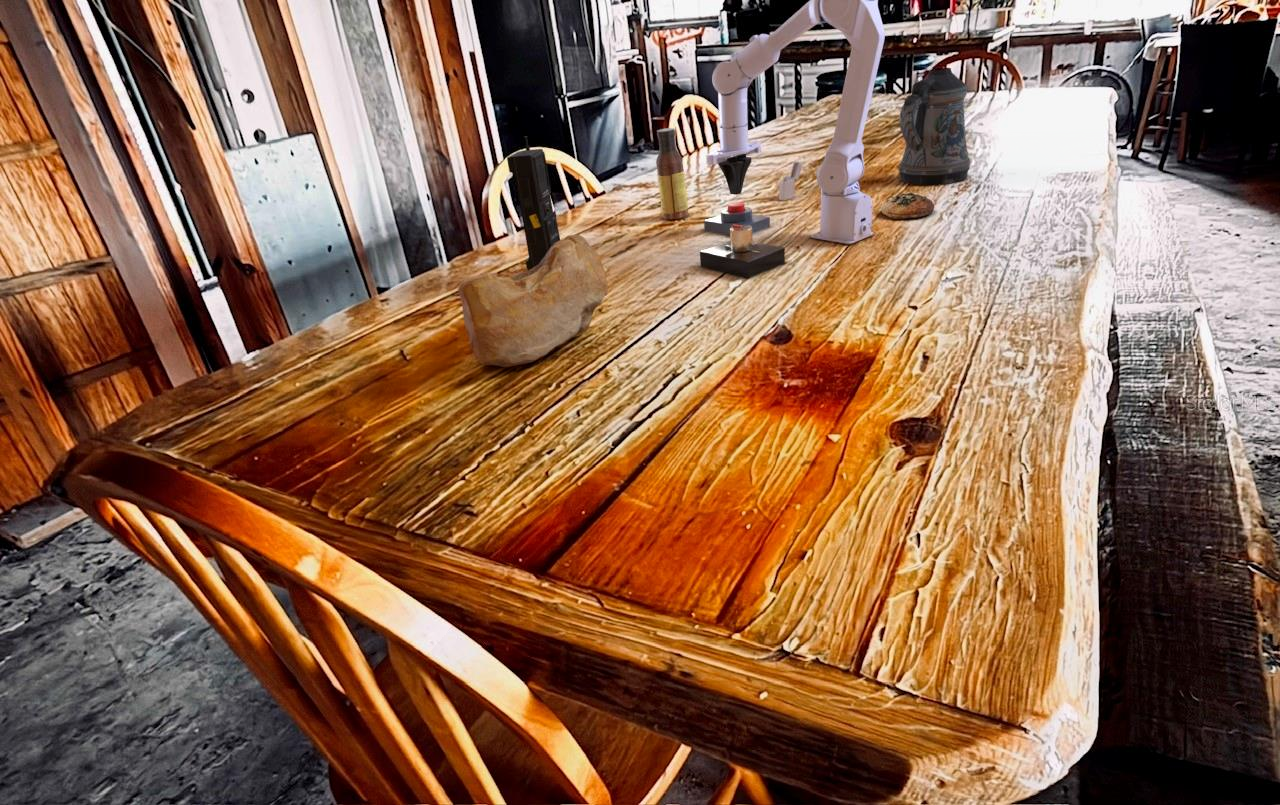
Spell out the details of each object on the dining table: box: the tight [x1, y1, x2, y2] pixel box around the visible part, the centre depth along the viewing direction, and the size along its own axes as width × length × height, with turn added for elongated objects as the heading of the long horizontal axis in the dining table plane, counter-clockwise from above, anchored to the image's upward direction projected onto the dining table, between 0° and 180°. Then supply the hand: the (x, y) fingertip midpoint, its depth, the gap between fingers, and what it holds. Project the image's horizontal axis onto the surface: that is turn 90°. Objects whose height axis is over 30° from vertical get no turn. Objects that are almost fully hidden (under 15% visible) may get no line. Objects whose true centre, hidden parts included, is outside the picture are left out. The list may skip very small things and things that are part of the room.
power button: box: [727, 201, 746, 213], centre depth 151 cm, size 4×4×2 cm
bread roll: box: [880, 192, 935, 221], centre depth 150 cm, size 11×11×5 cm
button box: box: [703, 206, 771, 236], centre depth 152 cm, size 11×9×4 cm
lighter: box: [778, 161, 803, 202], centre depth 172 cm, size 7×2×8 cm, turn 130°
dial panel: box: [699, 240, 786, 279], centre depth 130 cm, size 12×10×3 cm
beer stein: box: [898, 67, 971, 186], centre depth 170 cm, size 16×19×25 cm
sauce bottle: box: [655, 127, 689, 221], centre depth 163 cm, size 7×6×20 cm
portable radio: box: [506, 135, 561, 271], centre depth 134 cm, size 8×6×25 cm
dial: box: [729, 224, 754, 252], centre depth 129 cm, size 4×4×4 cm
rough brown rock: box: [457, 234, 609, 368], centre depth 105 cm, size 23×17×15 cm
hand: (735, 193), depth 150 cm, fingers closed
